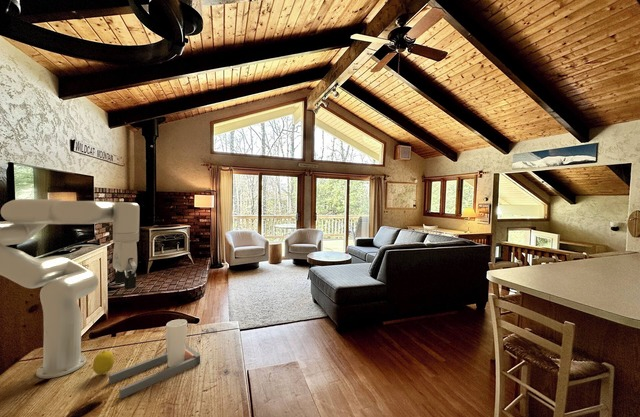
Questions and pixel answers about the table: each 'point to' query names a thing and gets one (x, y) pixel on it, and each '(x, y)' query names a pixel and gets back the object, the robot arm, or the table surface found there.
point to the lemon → (103, 362)
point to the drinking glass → (176, 341)
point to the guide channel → (191, 361)
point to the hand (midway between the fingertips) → (125, 285)
